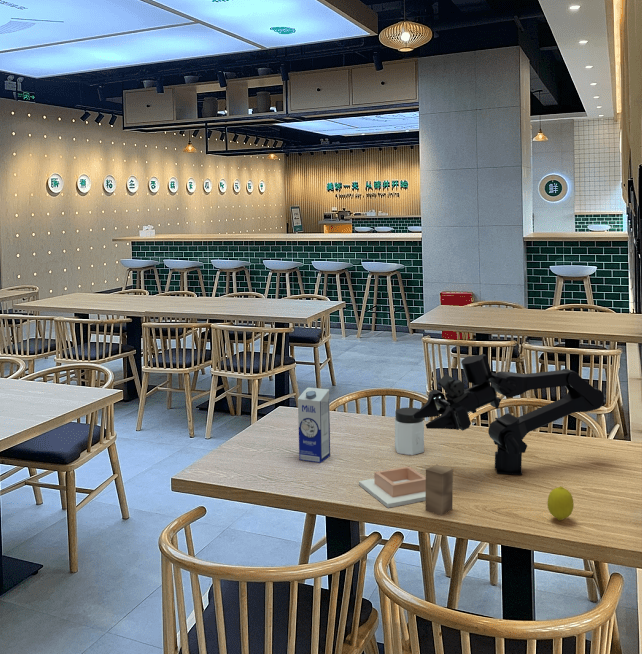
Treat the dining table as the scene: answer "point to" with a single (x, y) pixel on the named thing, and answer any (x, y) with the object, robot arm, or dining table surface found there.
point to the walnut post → (439, 489)
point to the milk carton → (314, 425)
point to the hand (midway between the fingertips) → (419, 421)
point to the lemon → (560, 503)
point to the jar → (408, 432)
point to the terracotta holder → (396, 486)
